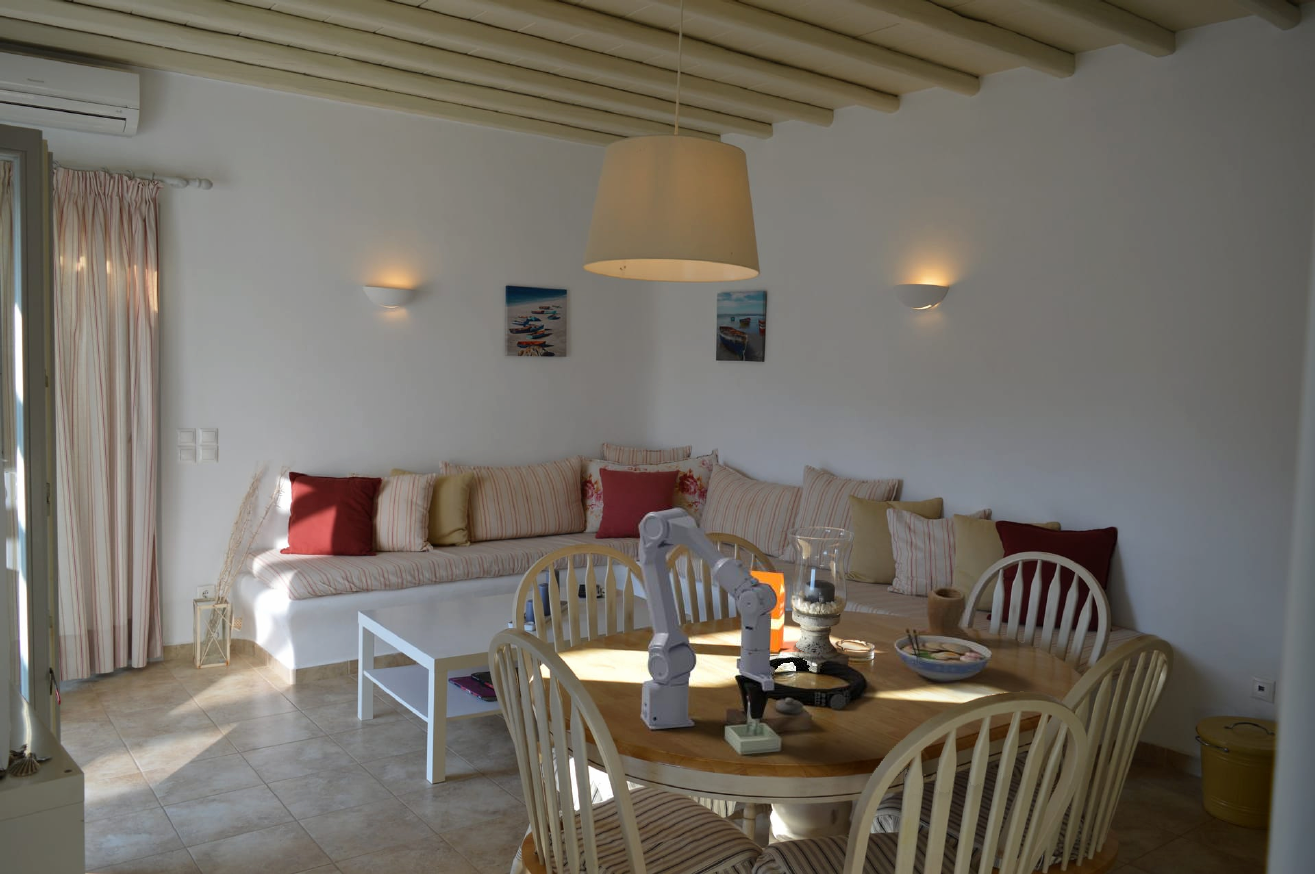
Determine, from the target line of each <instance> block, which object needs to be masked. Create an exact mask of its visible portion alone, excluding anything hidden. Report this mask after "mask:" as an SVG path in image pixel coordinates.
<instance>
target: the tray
mask: <svg viewBox="0 0 1315 874" xmlns="http://www.w3.org/2000/svg"><path fill="white" fill-rule="evenodd" d="M746 729H747V724H745V725H733V726H728V725H724V739H725V741H727V742H728V744H729V745H730V746H731V747H733V749H734V750H735V751H736V752H737V753H738V754H739V755H751V754H760V753H761V754H762V753H771V752H781V751H782V738H781V736H780V735H779V734H777V732H774V731H773V730H772V729H771V728H769V727H768V726H767V725H766V724H765V723H759V734H758V735H757V736H749V735H747V734H746ZM780 750H781V751H780Z"/></svg>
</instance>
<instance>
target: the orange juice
mask: <svg viewBox="0 0 1315 874" xmlns="http://www.w3.org/2000/svg"><path fill="white" fill-rule="evenodd" d="M750 574H751V575H752V576H753V577H754V578H757V579H758V580H759V582H761V583H767V584H770V585H771V586H772V588H773V589H774V591H775V592H776V595H777V605H776V607H775V608H774V609H773V610H772V611H771V612H772V613H771V643H770V652H775V653H776V652H777V653H778V652H779V651H780V649H781V648H782V647H783V645H784V633H785V632H784V628H785V627H784V626H785V605H786V604H785V602H786V601H785V600H786V599H785V597H786V591H785V590H786V589H785V581H784V573H780V572H769V571H760V570H759V571H758V570H750ZM769 613H770V612H769ZM766 614H767V613H766Z"/></svg>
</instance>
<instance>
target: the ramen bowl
mask: <svg viewBox="0 0 1315 874" xmlns="http://www.w3.org/2000/svg"><path fill="white" fill-rule="evenodd" d="M905 632H906V634H907V636H905V637H902V638H900V639H899V638H898V639H897V640H896V641H895V642H894V644H893V645H894V648H895V650H896V652H897V654H898V656H899V657H900V659H901V660H902V662H904V664H905V665H906V667H908V668H909V669H910V670H911V671H913V672H915V673H917V674H918V675H920V676H923V677H925V678H926V679H928V680H930V681H933V682H937V681H938V683H953V682H957V681H959V680H964V679H968V678H970V677H973V676H974V675H976V674H978V673H980V672H981V671H982V670H983V669H984V667H985V666H986V665H988V662H989V661H990V658H991V657H992V653H993V651H991V650H990V649H989V648H988V647H987V646H984V645H982V644H979V643H978V642H974V641H970V640H966V639H963V640H962V639H958V638H951V637H943V636H917V635H916V633H917V630H916V629H913V630H912V632H913V636H911V632H910V629H908V628H906V629H905Z"/></svg>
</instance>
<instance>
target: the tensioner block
mask: <svg viewBox="0 0 1315 874" xmlns="http://www.w3.org/2000/svg"><path fill="white" fill-rule="evenodd" d="M725 716H726V717H725V719H726V720H725V724H726V726H733V725H745V724H747V713H745V711H744V707H738V708H736V707H735V708H728V709H726V715H725ZM812 717H813V715H812V714H811V713H810V712H809V711H807V710H806V709H805V708H804V704H802V703H801V702H799V701H796V700H793V699H792V698H786V699H783V700H777V701H776V702H775V705H766V707H765V710H764V714H763V717H762V719H759V723H765V724H766V725H767V726H768V727H769V728H771V729H772V730H773V731H774V732H775V733H784V732H785V731H786V732H795V731H806V730H807V729H809V730H812V722H813V721H812ZM786 732H785V733H786Z"/></svg>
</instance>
